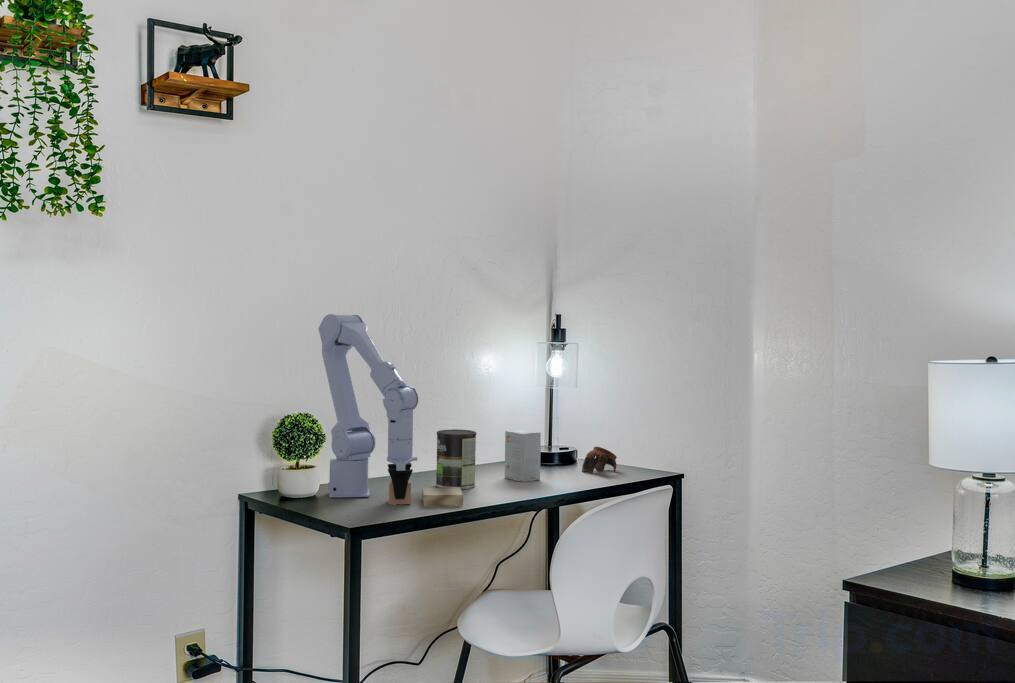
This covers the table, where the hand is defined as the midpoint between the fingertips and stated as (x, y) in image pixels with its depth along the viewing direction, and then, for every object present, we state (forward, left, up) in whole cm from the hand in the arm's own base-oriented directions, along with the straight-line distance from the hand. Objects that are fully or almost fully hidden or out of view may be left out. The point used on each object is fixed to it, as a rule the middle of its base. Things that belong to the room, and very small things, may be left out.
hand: (399, 496), depth 203 cm
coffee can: (+15, +20, -2) cm, 25 cm away
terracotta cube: (0, 0, -1) cm, 1 cm away
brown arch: (+58, +39, -2) cm, 70 cm away
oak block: (+10, 0, -2) cm, 10 cm away
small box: (+34, +29, -2) cm, 45 cm away
